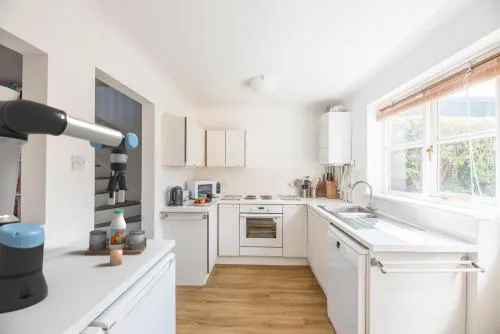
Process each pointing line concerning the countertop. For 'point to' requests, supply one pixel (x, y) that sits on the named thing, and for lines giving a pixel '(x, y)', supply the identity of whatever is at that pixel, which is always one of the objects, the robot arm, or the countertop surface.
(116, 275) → the countertop surface
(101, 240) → the rack
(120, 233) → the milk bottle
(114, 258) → the peach rounded cylinder
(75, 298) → the countertop surface
